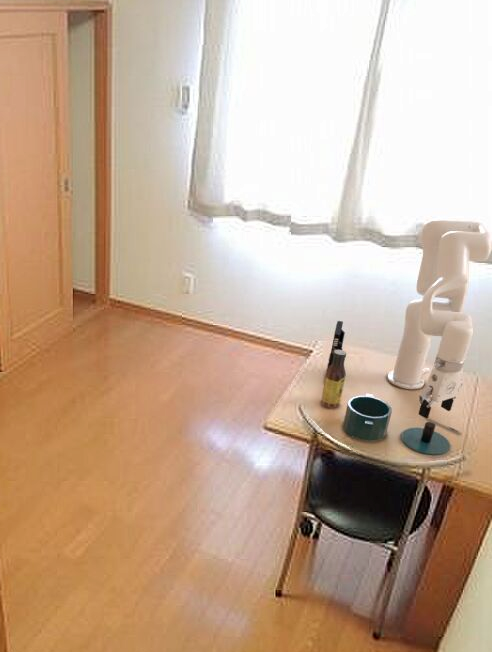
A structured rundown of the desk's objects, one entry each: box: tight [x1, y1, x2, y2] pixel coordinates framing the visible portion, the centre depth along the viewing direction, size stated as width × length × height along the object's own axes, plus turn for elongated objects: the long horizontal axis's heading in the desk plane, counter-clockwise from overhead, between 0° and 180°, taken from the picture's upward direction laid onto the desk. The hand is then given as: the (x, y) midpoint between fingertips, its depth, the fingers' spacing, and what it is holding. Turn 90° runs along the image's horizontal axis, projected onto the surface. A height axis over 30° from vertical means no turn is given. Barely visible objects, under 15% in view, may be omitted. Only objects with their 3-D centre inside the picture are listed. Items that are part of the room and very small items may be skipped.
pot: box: [342, 393, 393, 442], centre depth 208 cm, size 13×19×9 cm
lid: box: [401, 421, 451, 456], centre depth 203 cm, size 14×14×7 cm
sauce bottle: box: [321, 349, 347, 409], centre depth 218 cm, size 7×6×20 cm
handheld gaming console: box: [325, 320, 346, 376], centre depth 234 cm, size 12×5×20 cm, turn 160°
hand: (434, 412), depth 198 cm, fingers open, 9 cm apart
